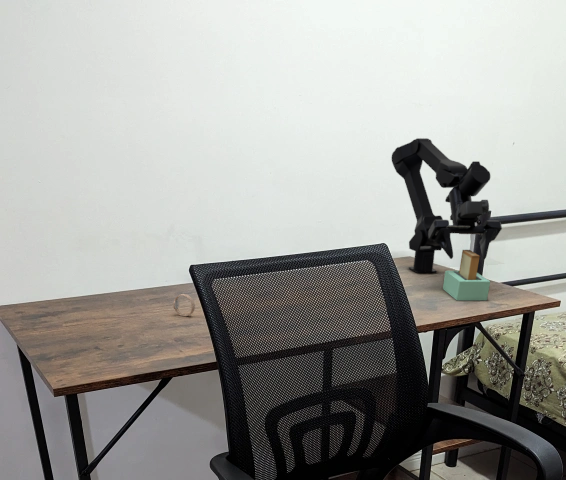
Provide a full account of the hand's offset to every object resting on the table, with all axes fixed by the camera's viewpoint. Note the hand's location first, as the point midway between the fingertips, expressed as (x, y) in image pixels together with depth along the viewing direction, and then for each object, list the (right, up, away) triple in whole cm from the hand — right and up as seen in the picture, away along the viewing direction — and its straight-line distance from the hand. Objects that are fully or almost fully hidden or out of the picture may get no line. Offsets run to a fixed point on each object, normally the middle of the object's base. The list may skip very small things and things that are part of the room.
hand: (468, 258), depth 192 cm
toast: (0, -8, +4) cm, 9 cm away
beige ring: (-73, -21, -21) cm, 79 cm away
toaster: (0, -9, +4) cm, 9 cm away
